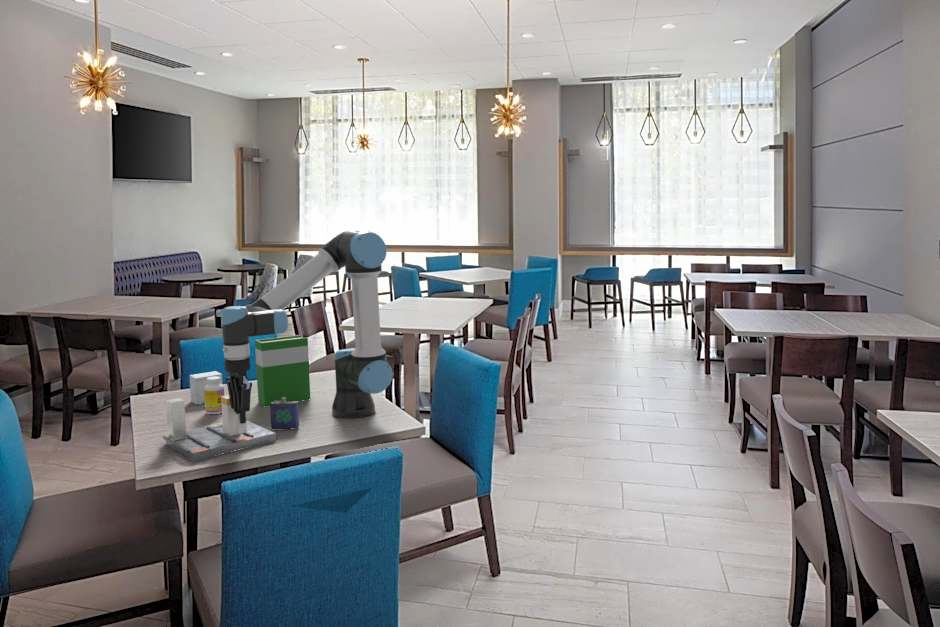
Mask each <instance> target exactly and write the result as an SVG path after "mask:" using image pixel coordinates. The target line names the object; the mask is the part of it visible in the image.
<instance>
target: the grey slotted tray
mask: <svg viewBox="0 0 940 627" xmlns="http://www.w3.org/2000/svg"><path fill="white" fill-rule="evenodd" d="M165 406H166V417H167V418H166V419H167V432H168V433H167V434H164V435H162V439H163V440H164V442H165V445H167V446H168V447H170V448H172V449H174V450H175V451H177V452H178V453H180V454H182V455H183V456H185V457H187V458H189V459H190V460H192V461H194V462H198V461H201V460H200V459H202V460H204V458H206V459H209V458H208V457H210V458H213V457H212V456H214V457H216V456H215V455H218V456H220V455H219V454H222V453H226V454H228V453H227V452H230V453H232V452H231V451H234V450H238V449H241V448H245V449H247V448H246V447H249V448H251V447H250V446H253V447H256V446H255V445H257V446H260V445H259V444H261V445H264V444H263V443H265V444H269V443H272V442H271V441H273V442H276V441H277V439H276V438H277V436H276V435H277V434H276V432H274V431H271V430H269V429H267V428H264V427H262V426H261V425H258V424H256V423H253V422H252V421H249V420H247V419H246V425H247V432H246V433H242V434H237V435H233V436H228V435H226V434H224V433H223V422H218V423H212V424H210V425H206V426H204V427H201V428H196V429H192V430H187V421H186V406H185V399H182V398H180V397H176V398H171V399H167V400H165ZM275 440H276V441H275ZM268 442H269V443H268ZM238 451H239V450H238ZM234 452H235V451H234ZM222 455H223V454H222ZM197 460H198V461H197Z"/></svg>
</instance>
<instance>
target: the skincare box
mask: <svg viewBox="0 0 940 627" xmlns="http://www.w3.org/2000/svg"><path fill="white" fill-rule="evenodd" d="M214 376H217V377H220V378H221V381H220V384H222V385H223V374H222V373H220V372H219V371H217V370H213V371H209V372H207V371H206V372H202V373H201V372H200V373H194V374H189V376H188V377H189V389H190V390H189V391H190V392H189V393H190V402H191V403H193V404H194V403H195V405H196V404H199V405H201V404H200V403H204V404H205V392H204V388H205V386H206V385H207V384H208V383H207V378H208V377H214ZM223 386H224V385H223Z"/></svg>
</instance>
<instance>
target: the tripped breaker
mask: <svg viewBox="0 0 940 627" xmlns="http://www.w3.org/2000/svg"><path fill="white" fill-rule="evenodd" d="M221 403H222V414H221V417H222V423H223V433H224V434H226V435H228V436H233V435H237V433H236V417H235V412H234V409H232V408H231V404H230V398H229V394H228V395H226V394H225V395H224V396H221Z"/></svg>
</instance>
